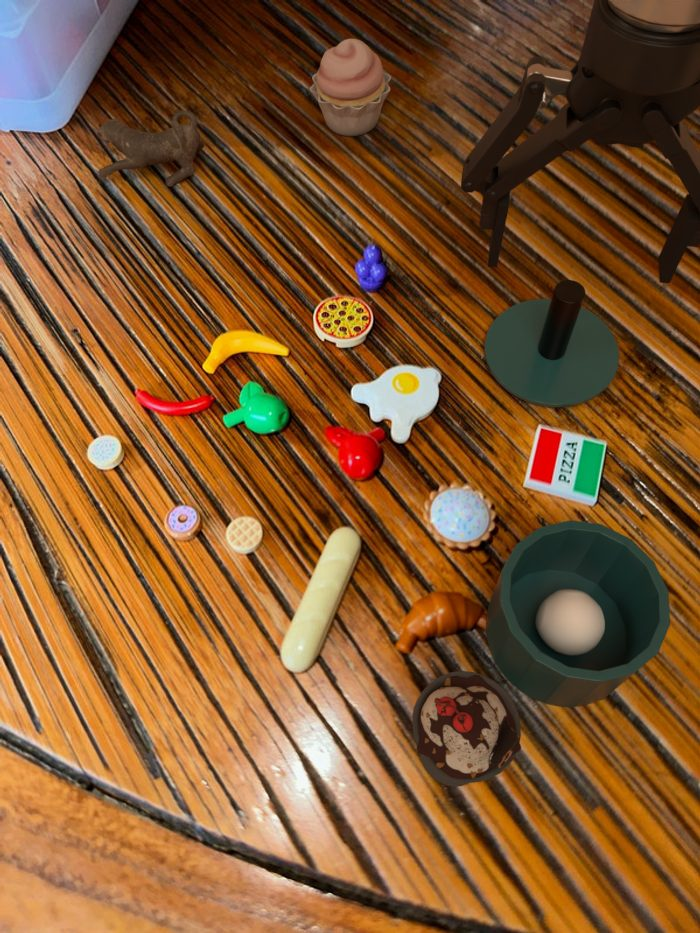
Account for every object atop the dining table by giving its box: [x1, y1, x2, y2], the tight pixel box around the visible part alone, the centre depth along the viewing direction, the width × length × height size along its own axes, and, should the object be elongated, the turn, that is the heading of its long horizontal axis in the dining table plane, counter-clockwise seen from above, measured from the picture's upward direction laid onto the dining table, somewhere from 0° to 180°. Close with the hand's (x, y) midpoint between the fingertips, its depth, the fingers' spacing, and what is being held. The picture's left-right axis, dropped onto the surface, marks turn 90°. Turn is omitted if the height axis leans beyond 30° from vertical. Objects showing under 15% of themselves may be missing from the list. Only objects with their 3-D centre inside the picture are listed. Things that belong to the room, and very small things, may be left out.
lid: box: [483, 279, 620, 408], centre depth 69 cm, size 12×12×9 cm
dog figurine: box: [97, 109, 206, 187], centre depth 84 cm, size 12×6×7 cm, turn 90°
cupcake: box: [309, 38, 392, 137], centre depth 86 cm, size 9×9×10 cm
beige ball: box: [536, 589, 605, 656], centre depth 57 cm, size 5×5×5 cm
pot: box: [485, 519, 671, 708], centre depth 56 cm, size 11×11×8 cm
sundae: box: [411, 670, 522, 787], centre depth 49 cm, size 7×7×15 cm
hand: (577, 262), depth 62 cm, fingers open, 13 cm apart
